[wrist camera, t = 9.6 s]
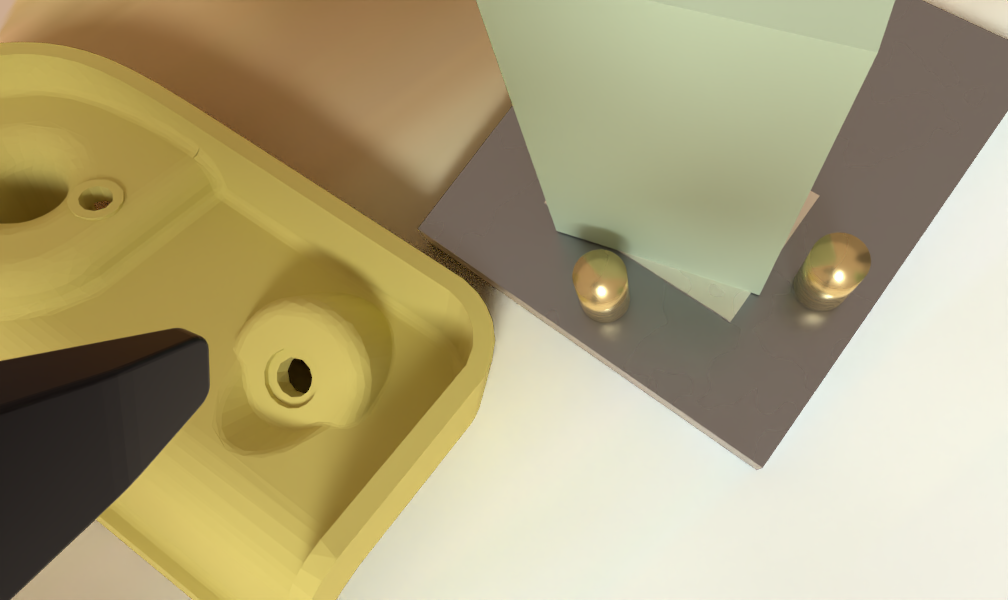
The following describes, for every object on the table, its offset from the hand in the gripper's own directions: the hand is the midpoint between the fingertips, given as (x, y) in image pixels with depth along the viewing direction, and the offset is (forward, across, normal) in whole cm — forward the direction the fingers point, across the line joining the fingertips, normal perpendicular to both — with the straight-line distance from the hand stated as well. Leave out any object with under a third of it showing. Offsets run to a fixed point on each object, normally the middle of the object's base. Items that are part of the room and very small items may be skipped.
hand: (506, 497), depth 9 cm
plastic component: (+10, +14, +9) cm, 19 cm away
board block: (+15, +1, +2) cm, 15 cm away
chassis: (+17, 0, +1) cm, 17 cm away
